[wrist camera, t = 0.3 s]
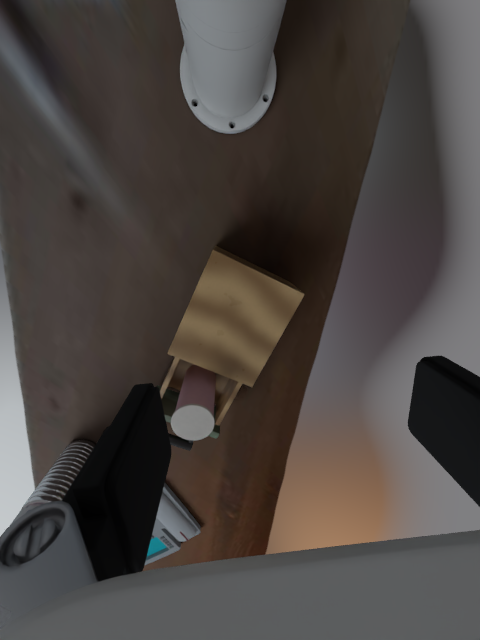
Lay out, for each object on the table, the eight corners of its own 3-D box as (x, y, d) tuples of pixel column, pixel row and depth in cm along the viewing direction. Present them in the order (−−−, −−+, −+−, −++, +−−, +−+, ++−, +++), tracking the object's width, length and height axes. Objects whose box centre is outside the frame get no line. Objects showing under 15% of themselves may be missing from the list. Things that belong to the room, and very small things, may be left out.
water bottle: (108, 451, 55) (20, 620, 31) (86, 468, 56) (-16, 643, 32) (82, 432, 53) (-33, 596, 29) (59, 449, 54) (-69, 621, 30)
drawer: (206, 433, 54) (203, 461, 47) (145, 412, 51) (133, 439, 45) (253, 347, 48) (257, 366, 41) (186, 319, 45) (180, 334, 39)
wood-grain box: (247, 361, 50) (252, 387, 42) (177, 332, 47) (167, 354, 39) (290, 282, 45) (305, 294, 37) (215, 245, 42) (213, 249, 34)
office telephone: (160, 490, 56) (208, 543, 62) (163, 479, 58) (209, 531, 65) (71, 532, 58) (126, 579, 64) (77, 520, 61) (129, 566, 67)
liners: (181, 363, 47) (167, 407, 35) (215, 360, 47) (212, 403, 36) (186, 392, 49) (174, 442, 37) (218, 389, 49) (216, 438, 38)
